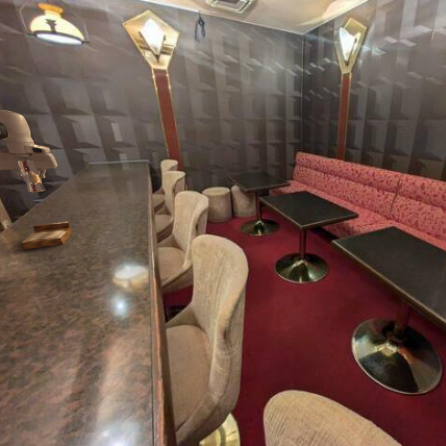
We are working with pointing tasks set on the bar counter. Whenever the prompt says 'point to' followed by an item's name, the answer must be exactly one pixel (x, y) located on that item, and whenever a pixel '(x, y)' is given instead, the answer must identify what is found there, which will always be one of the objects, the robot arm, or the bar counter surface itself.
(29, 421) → the bar counter surface
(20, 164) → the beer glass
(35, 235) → the shallow wooden tray
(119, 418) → the bar counter surface
